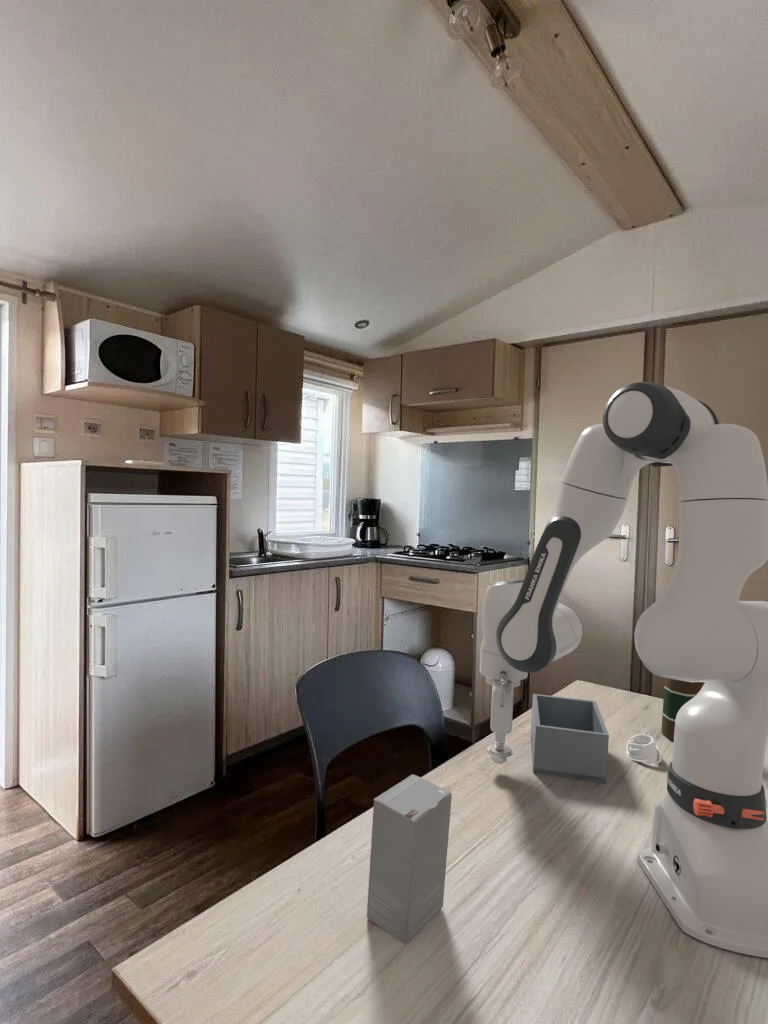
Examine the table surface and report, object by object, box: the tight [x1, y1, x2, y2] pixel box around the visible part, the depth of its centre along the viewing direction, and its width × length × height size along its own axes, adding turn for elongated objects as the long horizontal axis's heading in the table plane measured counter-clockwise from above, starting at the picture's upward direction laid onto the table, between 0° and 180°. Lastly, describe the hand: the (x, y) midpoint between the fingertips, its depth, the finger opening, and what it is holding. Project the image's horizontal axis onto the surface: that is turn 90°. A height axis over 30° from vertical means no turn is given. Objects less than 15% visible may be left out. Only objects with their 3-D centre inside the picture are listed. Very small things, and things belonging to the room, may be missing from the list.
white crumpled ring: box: [625, 733, 662, 764], centre depth 120 cm, size 8×7×5 cm
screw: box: [486, 706, 513, 765], centre depth 111 cm, size 13×5×5 cm
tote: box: [530, 693, 610, 784], centre depth 119 cm, size 18×13×9 cm
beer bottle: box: [661, 677, 705, 742], centre depth 130 cm, size 8×8×24 cm
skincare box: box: [366, 773, 453, 945], centre depth 73 cm, size 8×7×16 cm
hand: (500, 737), depth 111 cm, fingers closed on screw
